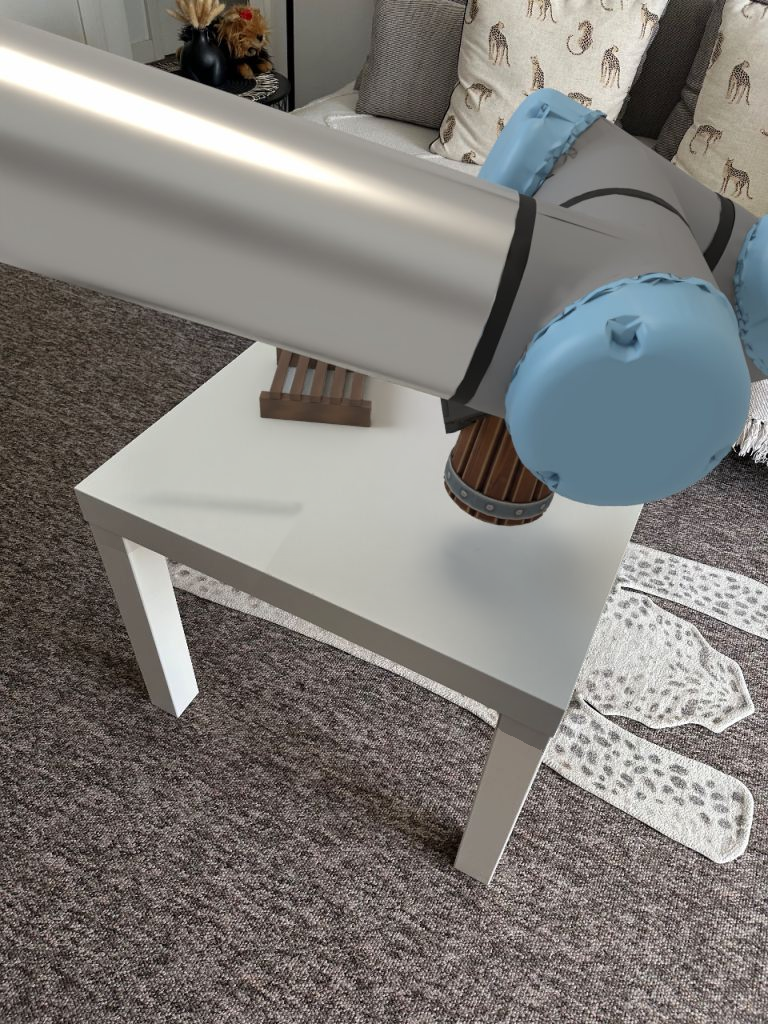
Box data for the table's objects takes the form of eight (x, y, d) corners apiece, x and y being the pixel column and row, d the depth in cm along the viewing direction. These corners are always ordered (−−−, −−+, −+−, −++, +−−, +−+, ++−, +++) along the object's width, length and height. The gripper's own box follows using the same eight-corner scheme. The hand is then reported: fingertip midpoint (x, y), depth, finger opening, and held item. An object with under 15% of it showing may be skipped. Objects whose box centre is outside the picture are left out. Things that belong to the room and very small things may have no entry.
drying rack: (260, 417, 90) (258, 390, 87) (278, 359, 100) (277, 333, 98) (369, 427, 90) (371, 401, 87) (377, 368, 100) (378, 343, 98)
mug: (539, 545, 64) (599, 406, 54) (428, 507, 65) (467, 364, 55) (561, 452, 75) (614, 324, 65) (466, 421, 77) (504, 291, 67)
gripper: (489, 432, 44) (393, 466, 65) (781, 395, 49) (604, 438, 71) (471, 312, 44) (381, 386, 65) (766, 288, 49) (593, 364, 71)
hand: (497, 413), depth 68 cm, fingers closed on mug, 10 cm apart
